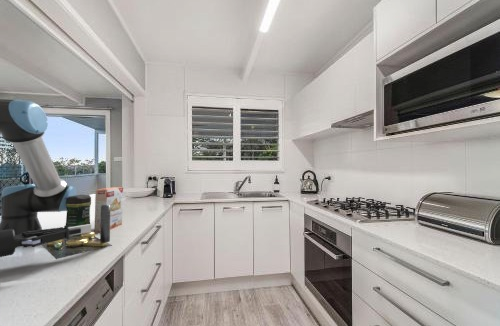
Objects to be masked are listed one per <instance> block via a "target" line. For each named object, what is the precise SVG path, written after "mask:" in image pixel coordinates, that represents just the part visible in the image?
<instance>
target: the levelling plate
mask: <svg viewBox="0 0 500 326" xmlns="http://www.w3.org/2000/svg"><path fill="white" fill-rule="evenodd" d="M80 237H87V238H89V241H100V237H97V236H96V231H94V230H93V231H92V230H91V232H89V233H84V234H81V235H80ZM80 237H78V238H80ZM70 239H71V238H69V239H62V240H58V241H54V242H50V243H46V244H41V246H42V247H43V248H44V249H45V250H46V251H47V252H48V253H50V254H51V256H53V257H54V258H55V259H56V260H58V259H62V258H66V257H70V256H75V255H79V254H84V253H87V252H88V253H89V252H92V251H96V250H99V249H103V248H108V247H112V246H113V245H112V244H110V243H109V242H107V245H105V246H103V247H102V246H86V245H81V246H76V247H68V246H66V241H68V240H70Z"/></svg>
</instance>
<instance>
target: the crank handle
mask: <svg viewBox="0 0 500 326" xmlns="http://www.w3.org/2000/svg"><path fill="white" fill-rule="evenodd" d="M110 206H111V205H101V222H100V232H99V239H100V241H89V238H87V237H81V236H80V238H79V237H75V238H74V237H73V238H69V239H70V240H69V239H67V240H68V241H66V246H68V247H76V246H81V245H86V246H102V247H103V246H105V245H107V243H109V242H110V241H111V229H110Z"/></svg>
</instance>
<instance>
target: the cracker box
mask: <svg viewBox="0 0 500 326" xmlns="http://www.w3.org/2000/svg"><path fill="white" fill-rule="evenodd" d="M123 197H124V187H120V186H118V187H117V186H115V187H114V186H113V187H107V188H106V187H105V188H99V189H95V202H94V203H95V204H94V205H95V206H94V230H93V231H94V232H95V233H96V232H99V233H100V222H101V205H111V206H110V230H112V229H115V228H117V227H119V226H122V225H123V204H124V203H123V202H124V201H123V199H124V198H123Z"/></svg>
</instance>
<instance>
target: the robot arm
mask: <svg viewBox="0 0 500 326" xmlns="http://www.w3.org/2000/svg"><path fill="white" fill-rule="evenodd" d="M48 124H49V123H48V117H47V115H46V112H45V111H44V109H43V108H42V106H40V105H39V104H37V103H36V102H34V101H29V100H24V99H10V98H8V99H4V98H0V134H1V136H2V138H3V140H4V141H5V142H8V143H11V144H12V145H13V146H14V149H15V151H16V152H17V154H18V156H19V158H20V160H21V162H22V164H23V166H24V167H25V170H26V171H27V172H28V176H29V177H30V179H31V180H32V182H33V183H31V184H30V183H29V184H21V185H14V186H13V185H12V186H6V187H4V188H3V189H2V191H1V197H0V198H1V209H0V212H1V214H0V217H1V219H0V258H4V257H7V256H12V255H13V254H15V252H16V248H20V247H23V248H29V247H31V248H35V247H38V246H42V245H43V244H47V243H50V242H54V241H58V240H62V239H63V240H69V239H70V236H72V237H74V236H73V235H78V234H84V233H89V232H91V231H92V224H91V223H90V224H87V225H81V226H74V227H68V229H67V226H66V225H64V227H62V226H59V227H54V228H52V227H51V228H45V229H43V228H42V225H41V223H40V220H39V217H38V213H55V212H56V213H57V212H58V213H60V212H67V208H66V199H67V198H68V197H70V196H75V195H77V189H76V187H75V186H73V185H68V184H67V182H66V180H64V179H63V178H60V176H59V173H58V171H57V168H56V167H55V165H54V163H53V160H52V157H51V155H50V154H49V150H48V148H47V146H46V143H45V142H44V139H43V136H44V135H45V133H46V130H47V129H48Z"/></svg>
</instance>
